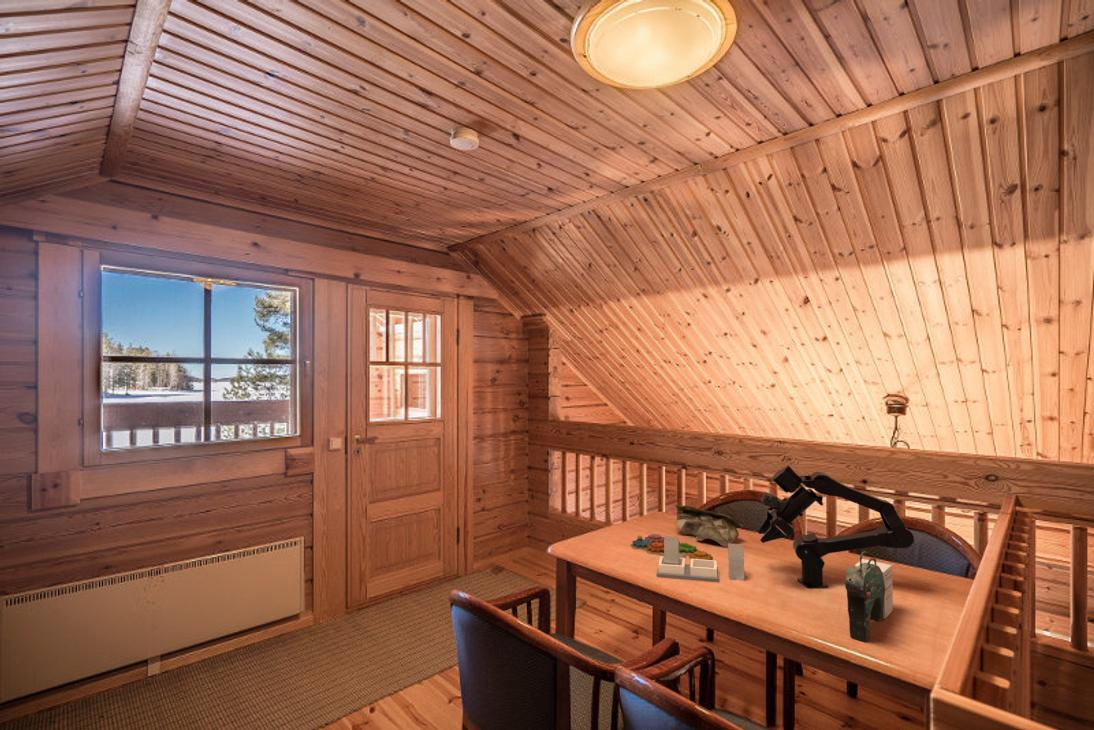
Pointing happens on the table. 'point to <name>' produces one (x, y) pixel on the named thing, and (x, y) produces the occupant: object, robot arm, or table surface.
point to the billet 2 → (736, 561)
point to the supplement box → (887, 578)
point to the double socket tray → (690, 570)
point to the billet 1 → (671, 550)
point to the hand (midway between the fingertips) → (759, 537)
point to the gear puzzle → (656, 546)
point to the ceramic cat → (864, 597)
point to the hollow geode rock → (707, 525)
